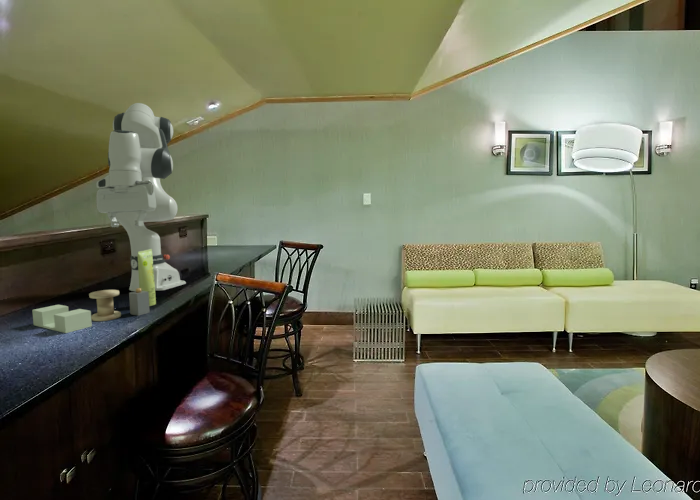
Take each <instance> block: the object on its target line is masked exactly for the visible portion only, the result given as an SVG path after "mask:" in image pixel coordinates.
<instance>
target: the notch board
mask: <svg viewBox="0 0 700 500" xmlns="http://www.w3.org/2000/svg"><path fill="white" fill-rule="evenodd" d="M91 315H92V311H91V310H88V309H82V308H77V309H73V310H69V306H67V305H63V304H55V305H50V306H45V307H40V308H36V309H32V321H33V326H36V327H39V328H44V329H48V330H50V331H51V330H52V331H55V332H60V333H64V334H68V333H72V332H75V331H79V330H83V329H87V328H92V327H93V323H92V320H91Z"/></svg>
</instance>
